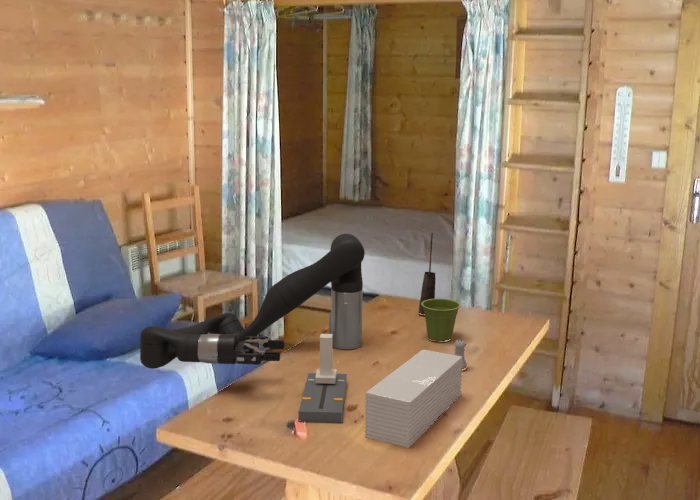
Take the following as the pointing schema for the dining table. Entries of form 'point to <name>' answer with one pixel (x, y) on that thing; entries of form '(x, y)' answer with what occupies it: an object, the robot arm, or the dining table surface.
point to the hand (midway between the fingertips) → (282, 350)
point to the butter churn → (428, 284)
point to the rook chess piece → (460, 351)
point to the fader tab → (326, 361)
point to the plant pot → (440, 318)
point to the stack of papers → (412, 397)
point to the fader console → (323, 400)
